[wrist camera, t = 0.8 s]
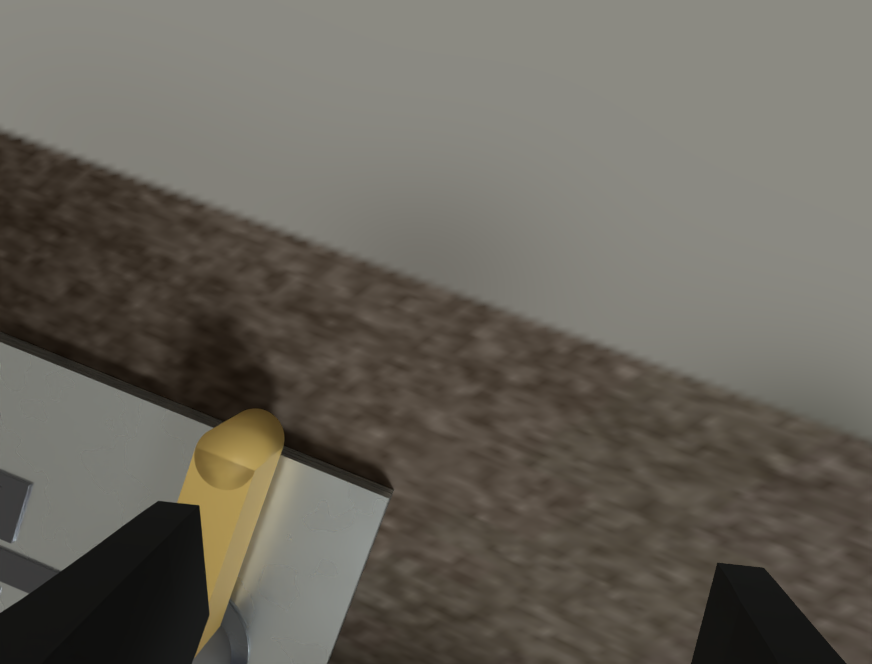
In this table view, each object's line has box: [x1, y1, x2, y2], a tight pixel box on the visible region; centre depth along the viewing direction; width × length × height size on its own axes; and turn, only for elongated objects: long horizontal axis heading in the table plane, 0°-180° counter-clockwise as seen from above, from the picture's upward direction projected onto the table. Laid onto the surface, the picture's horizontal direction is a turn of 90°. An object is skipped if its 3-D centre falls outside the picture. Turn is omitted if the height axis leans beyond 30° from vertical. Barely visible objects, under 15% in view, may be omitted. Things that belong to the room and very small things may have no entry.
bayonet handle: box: [177, 408, 284, 664], centre depth 26 cm, size 11×4×3 cm, turn 159°
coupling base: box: [0, 332, 394, 664], centre depth 29 cm, size 13×16×1 cm
